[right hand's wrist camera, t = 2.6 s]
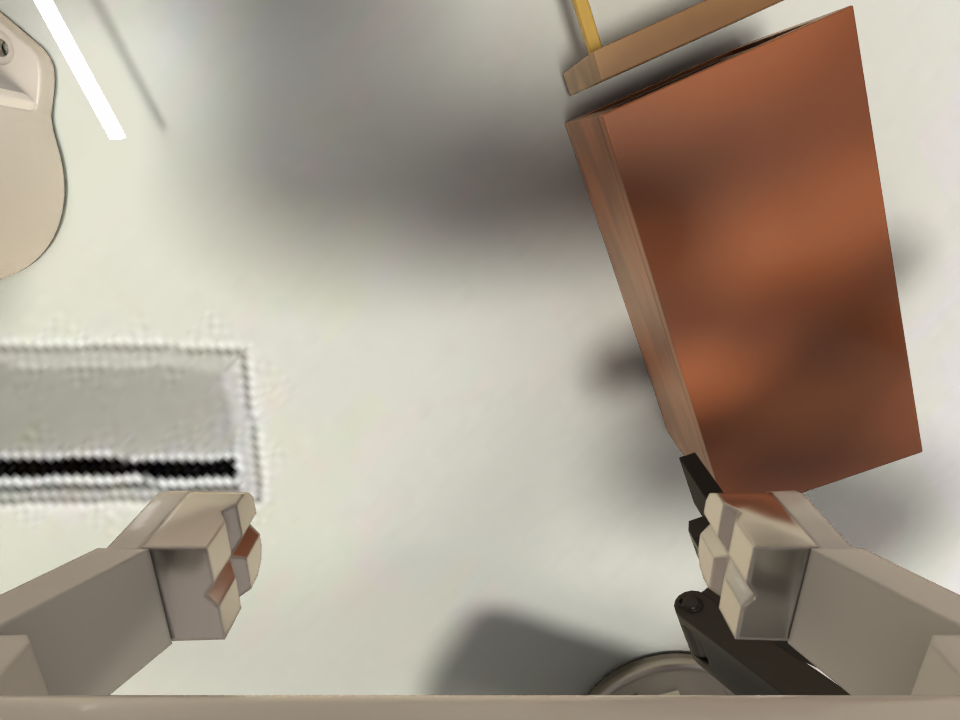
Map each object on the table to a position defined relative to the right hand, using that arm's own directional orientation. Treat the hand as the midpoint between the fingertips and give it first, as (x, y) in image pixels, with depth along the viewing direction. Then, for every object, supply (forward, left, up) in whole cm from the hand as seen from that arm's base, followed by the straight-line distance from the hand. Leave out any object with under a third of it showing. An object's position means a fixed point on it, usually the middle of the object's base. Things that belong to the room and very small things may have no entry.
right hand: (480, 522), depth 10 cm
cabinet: (+9, +11, -27) cm, 30 cm away
